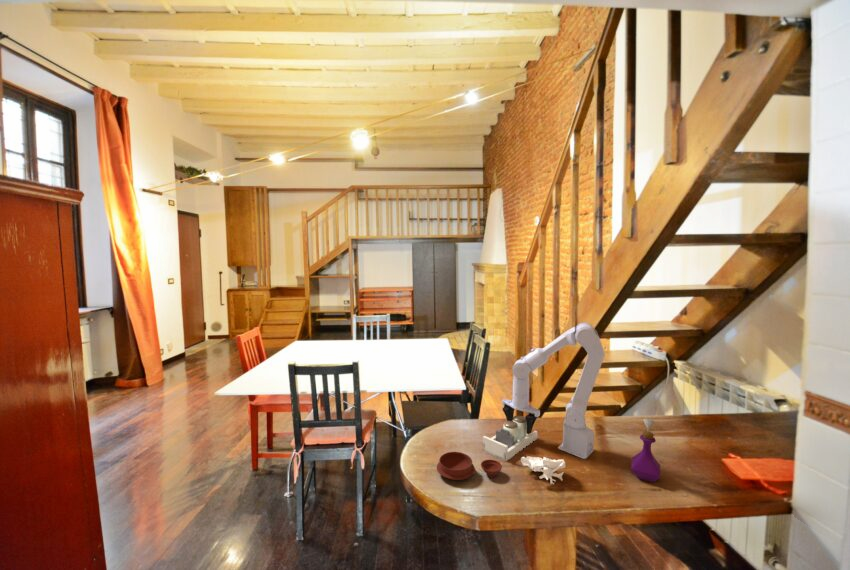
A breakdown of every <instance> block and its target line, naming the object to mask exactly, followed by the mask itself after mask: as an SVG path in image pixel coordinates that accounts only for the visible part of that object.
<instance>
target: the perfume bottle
mask: <svg viewBox="0 0 850 570" xmlns="http://www.w3.org/2000/svg"><path fill="white" fill-rule="evenodd" d="M642 419H643V423H644V426H645V427H646V428H647V430H645V429H644V430H642V434H640V436H639V439H640V440H642V442H643V447H642V449H641V450H640V451H639V452H638V453H637V454H635V455H634V456H632V459H631V471H632V472H633V474H634V475H635V477H636V478H637V479H639V480H642V481H647V482H649V481H650V483H655V482H656V481H657V480H659V479H660V478H661V476H662V475H661V464H660V462H659V461H658V460H657V459H656V458H655V456H654V455H653V452H652V448H651V447H652V444H654V443H656V438H655V437H654V433H653V432H651V431H650V430H649V429H650V428H651V427H653V425H654V424H655V420H654V419H649V418H642Z"/></svg>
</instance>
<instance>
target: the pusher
mask: <svg viewBox="0 0 850 570" xmlns="http://www.w3.org/2000/svg"><path fill="white" fill-rule="evenodd" d="M495 435H496V441H498V442H500V443H502V444H505V445H507V446H508V449H509V448H510V447H512V446H513V445H514V436H513V435H510V434H509V431H508V430H505V429H503V427H501V428H500V429H496V430H495Z"/></svg>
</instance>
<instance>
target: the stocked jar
mask: <svg viewBox="0 0 850 570" xmlns="http://www.w3.org/2000/svg"><path fill="white" fill-rule="evenodd" d="M502 428H503V429H505V430H508V431H509V434H510V435H513V436H514V445H515V444H516V443H518V425H517V423H516V422H514V421H507V420H505V421H504V422H503V427H502Z"/></svg>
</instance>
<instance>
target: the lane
mask: <svg viewBox="0 0 850 570" xmlns="http://www.w3.org/2000/svg"><path fill="white" fill-rule="evenodd" d="M536 440H538V431H537V430H533V431H532V432H531V433H530V434H527V432H526V437H525V438H523V439H522V440H518V443H516V444H515V445H513V446H512V447H510V448H509V449H508V446H507V445H505V444H502V443H500V442H498V441H496V434H495V435H493V436H492V437H488V436H487V435H483V436H482V452H484V451H485V452H484V453H487V454H489V455H490V456H493V457H495V458H497V459H500V460H501V461H503V462H507V461H509V460H510V459H512V458H513V457H514V456H515V454H516V455H517V454H518V453H520V452H521V451H523V448H524V449H526V446H527V447H528V446H529V445H531V444H533V441H534V442H535V441H536ZM530 443H531V444H530ZM519 451H520V452H519Z"/></svg>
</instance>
